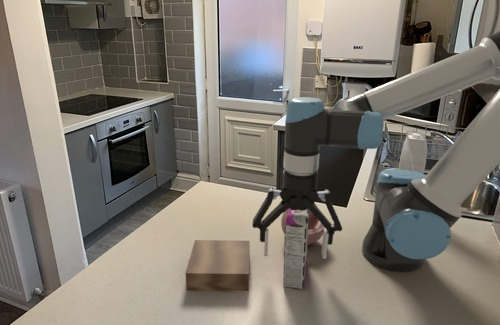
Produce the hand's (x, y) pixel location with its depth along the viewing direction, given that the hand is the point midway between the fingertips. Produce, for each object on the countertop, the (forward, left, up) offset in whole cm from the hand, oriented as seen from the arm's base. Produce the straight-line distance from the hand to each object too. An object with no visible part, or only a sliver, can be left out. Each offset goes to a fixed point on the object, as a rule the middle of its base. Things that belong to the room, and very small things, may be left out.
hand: (294, 254), depth 90 cm
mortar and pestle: (-3, -15, -6) cm, 16 cm away
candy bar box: (0, 0, -6) cm, 6 cm away
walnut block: (+18, 0, -6) cm, 19 cm away
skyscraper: (-38, -35, -6) cm, 52 cm away
